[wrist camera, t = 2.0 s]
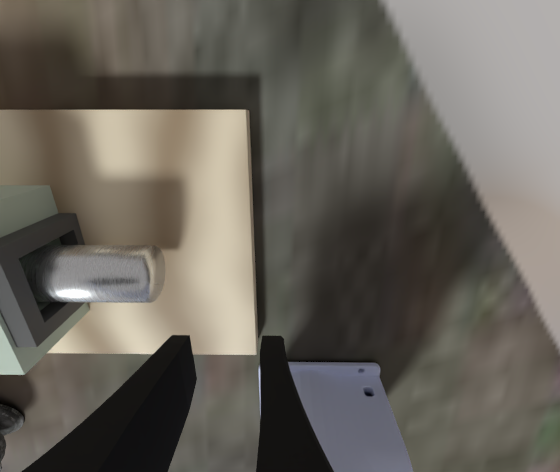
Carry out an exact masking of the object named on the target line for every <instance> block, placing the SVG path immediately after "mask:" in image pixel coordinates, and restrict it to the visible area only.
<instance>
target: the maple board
mask: <svg viewBox="0 0 560 472" xmlns="http://www.w3.org/2000/svg"><path fill="white" fill-rule="evenodd" d="M0 185H50V188H51V191H52V194H53V198H54V201H55V204H56V207H57V210H58V213H76V215H77V219H78V222H79V226H80V229H81V232H82V236H83V239H84V242H85V245H154V246H157V247H159V248H160V250H161V251H162V253H163V256H164V260H165V281H164V285H163V289H162V291H161V294H160V295H159V297H158V298H157V300H156V301H154V302H152V303H113V302H87V303H88V306H89V309H90V311H89V312H88V313H87V314H86V315H85V316H84V317H83V318H81V319H80V320H79V321H78V322H77V323H76V324H75V325H74V326H73V327H72V328H71V329H70V330H69V331H68V332H67V333H66V334H65V335H64V336H63V337H62V338H61V339H60V340H59V341H58V342H57V343H56V344H55V345H54V346H53V347H52V348H51V349H50V350H49V351H48V352H47V353H106V354H154V353H155V352H156V351H157V350H158V349H159V348H160V347H161V346H162V344H163V343H164V342H165V341H166V340H167V339H168V338H169V337H170V336H172V335H190V340H191V346H192V352H193V354H220V355H256V354H257V345H258V324H257V298H256V272H255V246H254V220H253V195H252V169H251V143H250V117H249V110H0Z"/></svg>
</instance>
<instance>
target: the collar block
mask: <svg viewBox="0 0 560 472" xmlns="http://www.w3.org/2000/svg"><path fill="white" fill-rule="evenodd" d="M43 245H85V242H84V239H83V236H82V232H81V229H80V226H79V222H78V219H77V215H76V213H58V210H57V207H56V204H55V201H54V198H53V194H52V191H51V188H50V185H0V375H25V374H26V373H27V372H28V371H29V370H30V369H31V368H32V367H33V366H34V365H35V364H36V363H37V362H38V361H39V360H40V359H41V358H42V357H43V356H44V355H45V354H46V353H47V352H48V351H49V350H50V349H51V348H52V347H53V346H54V345H55V344H56V343H57V342H58V341H59V340H60V339H61V338H62V337H63V336H64V335H65V334H66V333H67V332H68V331H69V330H70V329H71V328H72V327H73V326H74V325H75V324H76V323H77V322H78V321H79V320H80V319H81V318H83V317H84V316H85V315H86V314H87V313H88V312H89V311H90V309H89V306H88V303H87V302H36V301H35V298H34V296H33V293H32V291H31V288H30V286H29V283H28V281H27V279H26V276H25V274H24V271H23V269H22V266H21V264H20V261H19V258H21V257H23V256H25V255H26V254H28V253H30V252H32V251H34V250H36V249H38V248H40V247H42V246H43Z"/></svg>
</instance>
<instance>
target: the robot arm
mask: <svg viewBox="0 0 560 472" xmlns="http://www.w3.org/2000/svg"><path fill="white" fill-rule="evenodd" d="M379 376H380V367H379V365H378V364H377V363H351V362H288V361H287V357H286V352H285V346H284V339H283V338H282V337H281V336H262V342H261V349H260V364H259V394H260V436H259V447H258V458H257V469H256V472H413V469H412V465H411V462H410V459H409V455H408V453H407V450H406V447H405V444H404V442H403V439H402V436H401V433H400V431H399V428H398V425H397V423H396V420H395V417H394V415H393V412H392V409H391V407H390V404H389V401H388V398H387V396H386V393H385V390H384V388H383V385H382V382H381V380H380V377H379ZM196 380H197V377H196V371H195V365H194V358H193V352H192V346H191V340H190V335H172V336H170V337H169V338H168V339H167V340H166V341H165V342H164V343H163V344H162V346H161V347H160V348H159V349H158V350H157V351H156V352H155V353H154V354H153V355H152V356H151V357H150V358H149V359H148V360H147V361H146V362H145V363H144V364H143V365H142V366H141V367H140V368H139V369H138V370H137V371H136V372H135V373H134V374H133V375H132V376H131V377H130V378H129V379H128V380H127V381H126V382H125V383H124V384H123V385H122V386H121V387H120V388H119V389H118V390H117V391H116V392H115V393H114V394H113V395H112V396H111V397H109V398H108V399H107V400H106V401H105V402H104V403H103V404H102V405H101V406H100V407H99V408H98V409H96V410H95V411H94V412H93V413H92V414H91V415H90V416H89V417H88V418H87V419H85V420H84V421H83V422H82V423H81V424H80V425H79V426H77V427H76V428H75V429H74V430H73V431H72V432H71V433H69V434H68V435H67V436H66V437H65V438H63V439H62V440H61V441H60V442H59V443H57V444H56V445H55V446H54V447H52V448H51V449H50V450H49V451H48V452H46V453H45V454H44V455H43V456H41V457H40V458H39V459H38V460H36V461H35V462H34V463H32V464H31V465H30V466H29V467H27V468H26V469H24V470H23V471H22V472H168V469H169V466H170V463H171V461H172V458H173V455H174V452H175V449H176V447H177V444H178V441H179V438H180V435H181V433H182V430H183V427H184V424H185V421H186V418H187V415H188V413H189V409H190V405H191V401H192V397H193V393H194V389H195V384H196Z"/></svg>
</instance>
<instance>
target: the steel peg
mask: <svg viewBox="0 0 560 472" xmlns="http://www.w3.org/2000/svg"><path fill="white" fill-rule="evenodd" d="M19 261H20V264H21V266H22V269H23V271H24V274H25V276H26V279H27V281H28V283H29V286H30V288H31V291H32V293H33V296H34V298H35V301H36V302H113V303H152V302H154V301H156V300H157V298H158V297H159V295H160V294H161V291H162V289H163V285H164V281H165V260H164V256H163V253H162V251H161V250H160V248H159V247H157V246H154V245H43V246H42V247H40V248H38V249H36V250H34V251H32V252H30V253H28V254H26V255H25V256H23V257H21V258H19Z"/></svg>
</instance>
